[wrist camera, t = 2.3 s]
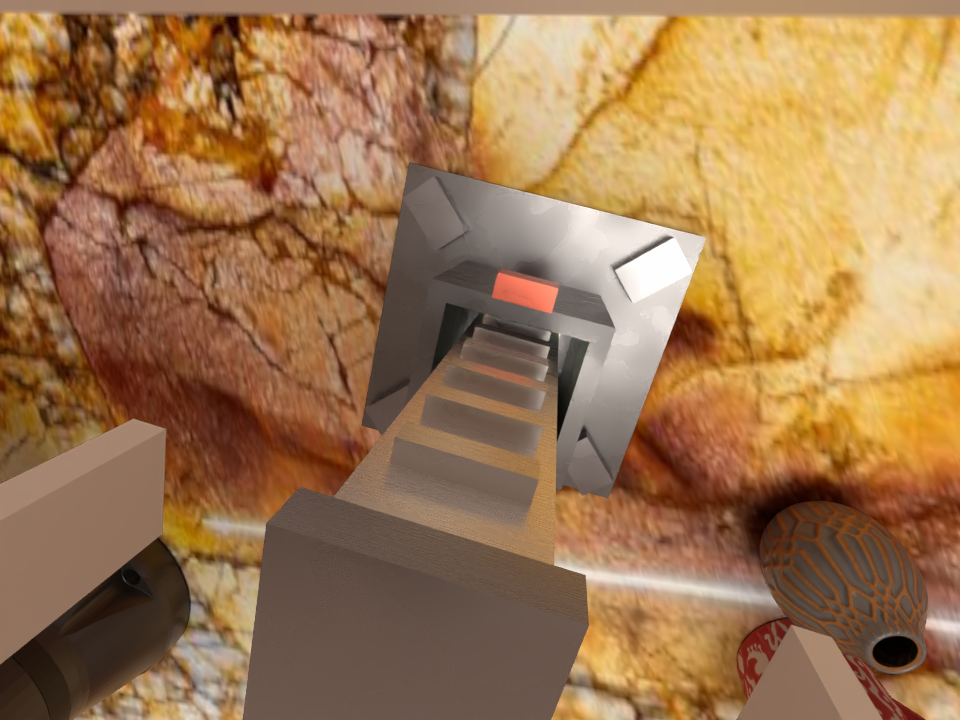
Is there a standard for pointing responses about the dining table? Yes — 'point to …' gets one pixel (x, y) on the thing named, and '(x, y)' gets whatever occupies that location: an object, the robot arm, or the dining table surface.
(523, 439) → the column
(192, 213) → the dining table surface
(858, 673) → the mug
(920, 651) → the vase
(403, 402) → the stand base
